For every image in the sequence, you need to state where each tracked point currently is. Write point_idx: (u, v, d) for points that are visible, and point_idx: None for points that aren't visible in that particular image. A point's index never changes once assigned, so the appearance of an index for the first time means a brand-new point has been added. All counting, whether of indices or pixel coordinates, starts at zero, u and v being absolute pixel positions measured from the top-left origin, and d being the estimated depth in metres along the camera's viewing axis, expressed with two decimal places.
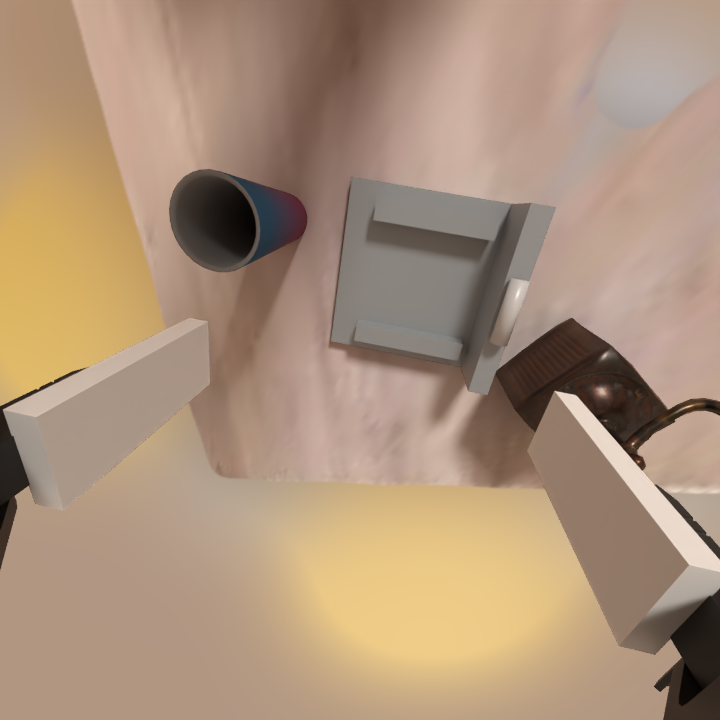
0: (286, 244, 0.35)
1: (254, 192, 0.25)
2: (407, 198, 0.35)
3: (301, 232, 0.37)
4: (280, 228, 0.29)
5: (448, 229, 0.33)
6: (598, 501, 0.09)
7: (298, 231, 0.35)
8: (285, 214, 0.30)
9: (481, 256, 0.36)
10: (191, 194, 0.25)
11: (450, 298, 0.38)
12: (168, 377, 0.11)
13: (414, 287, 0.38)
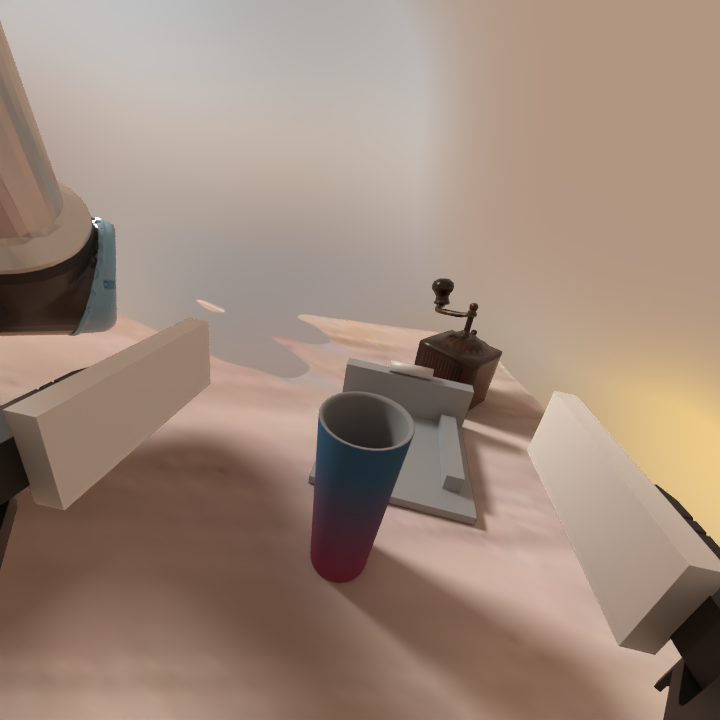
0: None
1: None
2: None
3: None
4: None
5: None
6: (598, 501, 0.09)
7: None
8: None
9: None
10: None
11: None
12: (168, 377, 0.11)
13: None
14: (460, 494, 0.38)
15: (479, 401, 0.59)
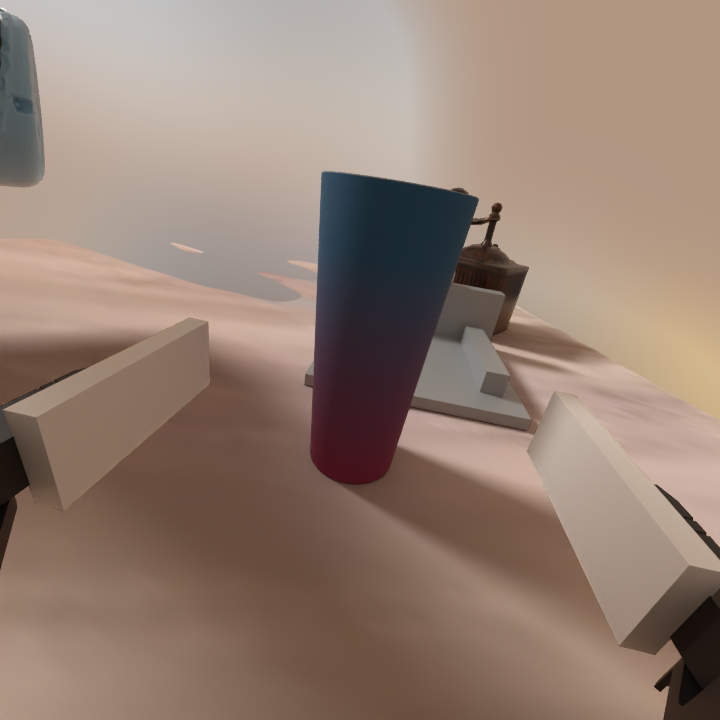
0: None
1: None
2: None
3: None
4: None
5: None
6: (598, 501, 0.09)
7: None
8: None
9: None
10: None
11: None
12: (168, 377, 0.11)
13: None
14: (504, 398, 0.29)
15: (502, 329, 0.50)
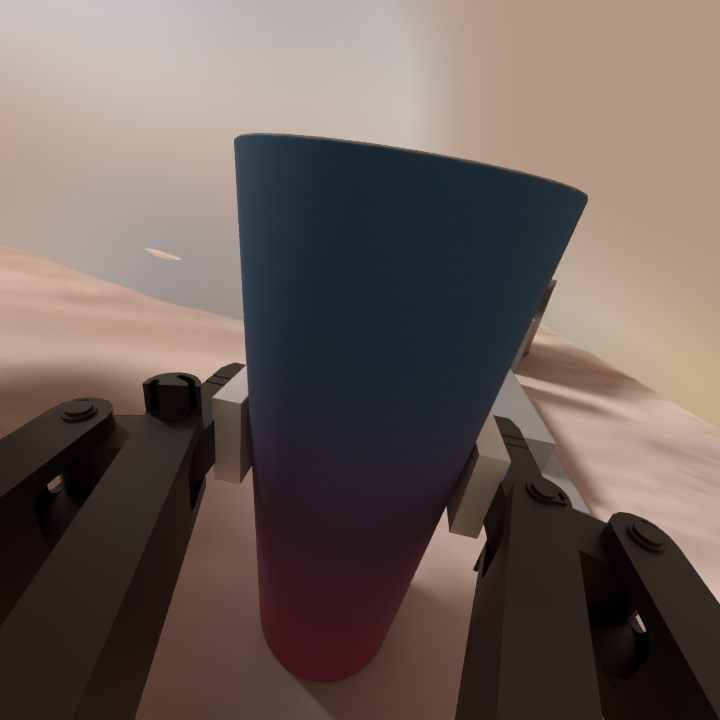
0: None
1: None
2: None
3: None
4: None
5: None
6: None
7: None
8: None
9: None
10: None
11: None
12: None
13: None
14: (546, 472, 0.21)
15: (524, 353, 0.42)
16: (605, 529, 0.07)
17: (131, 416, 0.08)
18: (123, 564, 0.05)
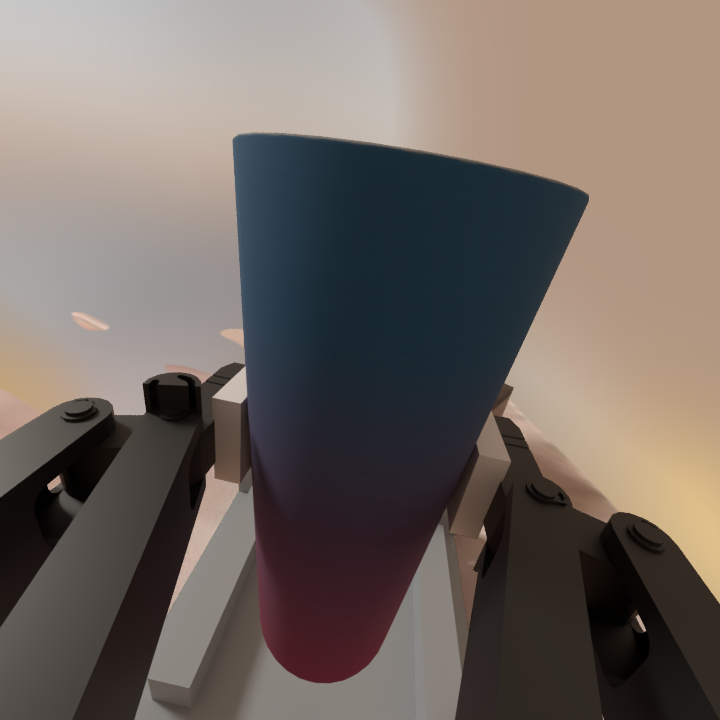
0: None
1: None
2: None
3: None
4: None
5: (248, 543, 0.22)
6: None
7: None
8: None
9: None
10: None
11: None
12: None
13: None
14: None
15: None
16: (605, 529, 0.07)
17: (131, 416, 0.08)
18: (123, 564, 0.05)
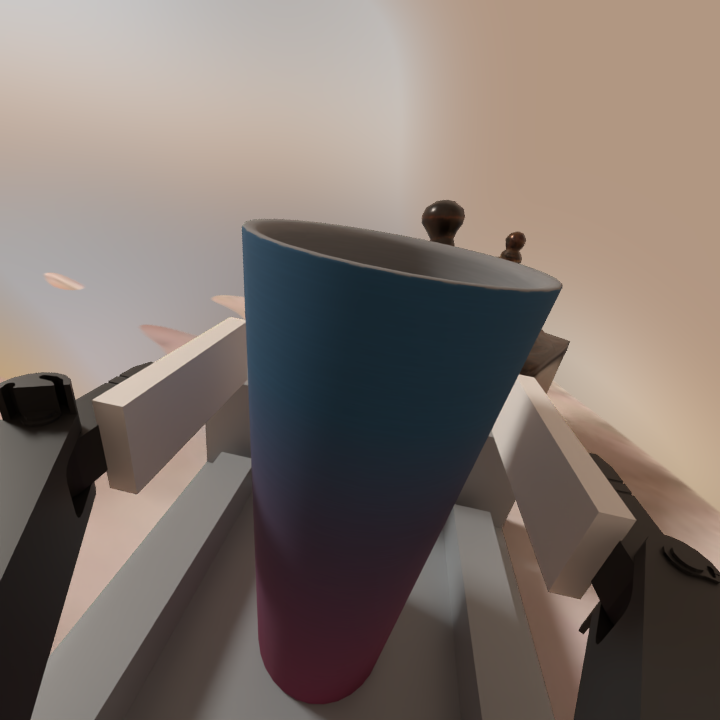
0: None
1: None
2: None
3: None
4: None
5: (204, 528, 0.15)
6: (540, 468, 0.10)
7: None
8: None
9: None
10: None
11: None
12: (216, 373, 0.12)
13: None
14: None
15: None
16: None
17: (1, 421, 0.08)
18: None
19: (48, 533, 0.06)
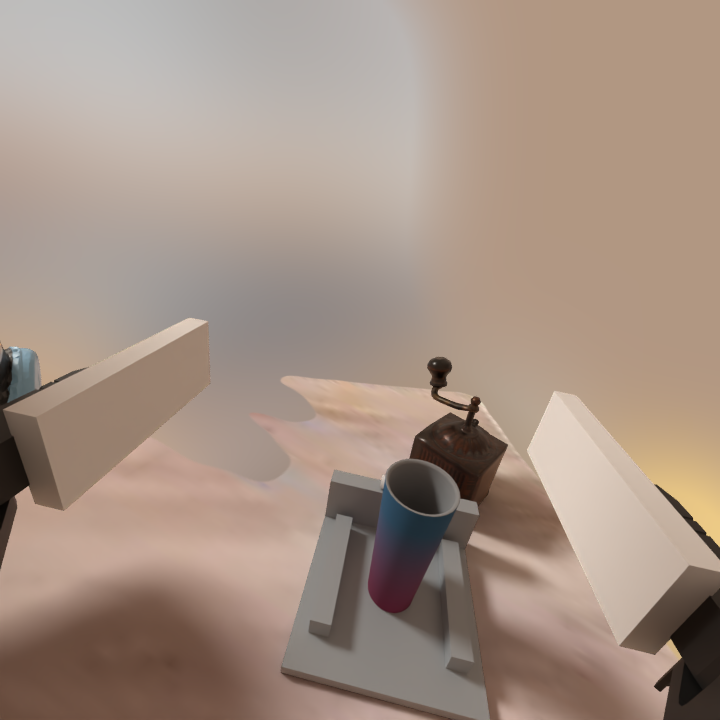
0: None
1: None
2: (311, 599, 0.35)
3: None
4: None
5: (343, 551, 0.38)
6: (598, 501, 0.09)
7: None
8: None
9: (363, 534, 0.42)
10: None
11: None
12: (168, 377, 0.11)
13: None
14: (468, 677, 0.31)
15: (483, 498, 0.52)
16: None
17: None
18: None
19: None
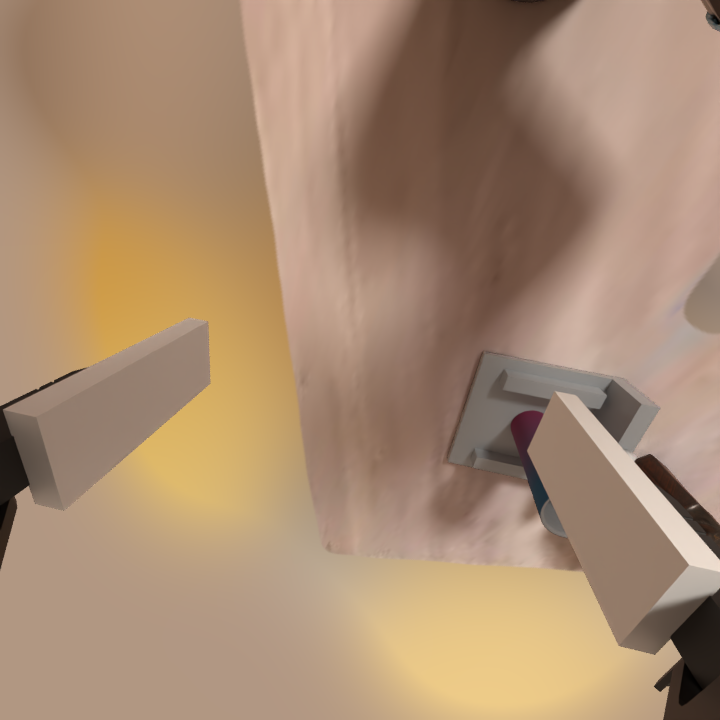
0: None
1: None
2: (528, 370, 0.44)
3: None
4: None
5: None
6: (598, 501, 0.09)
7: None
8: None
9: None
10: None
11: None
12: (168, 377, 0.11)
13: None
14: (469, 458, 0.51)
15: None
16: None
17: None
18: None
19: None
